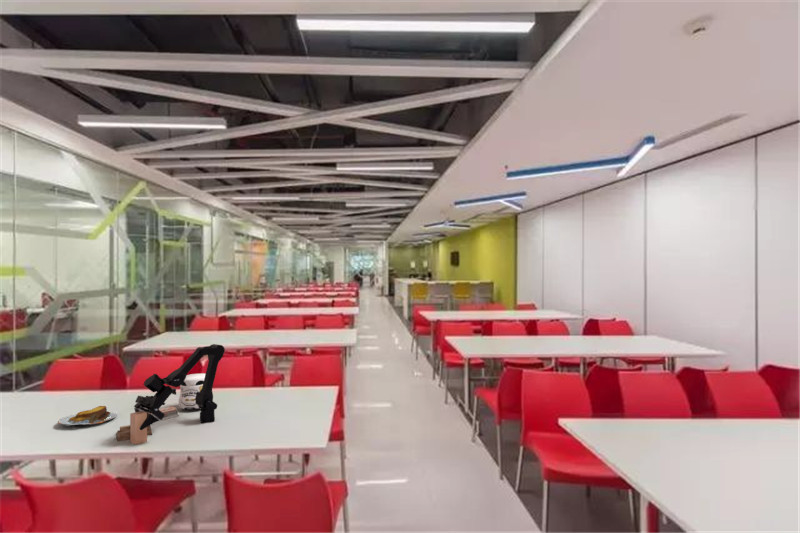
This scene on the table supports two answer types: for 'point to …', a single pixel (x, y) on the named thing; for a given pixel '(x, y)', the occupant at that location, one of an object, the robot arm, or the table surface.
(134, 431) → the clay bar
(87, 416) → the food on plate
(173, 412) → the packaged product
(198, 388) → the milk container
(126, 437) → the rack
